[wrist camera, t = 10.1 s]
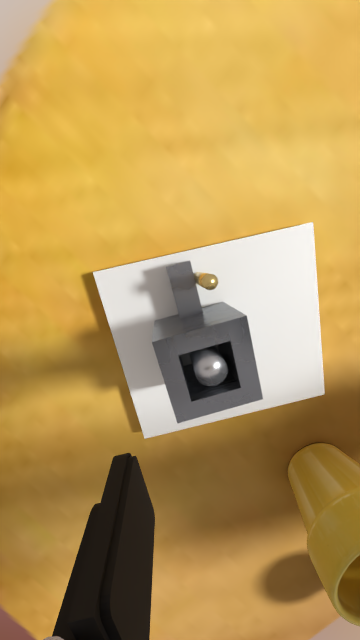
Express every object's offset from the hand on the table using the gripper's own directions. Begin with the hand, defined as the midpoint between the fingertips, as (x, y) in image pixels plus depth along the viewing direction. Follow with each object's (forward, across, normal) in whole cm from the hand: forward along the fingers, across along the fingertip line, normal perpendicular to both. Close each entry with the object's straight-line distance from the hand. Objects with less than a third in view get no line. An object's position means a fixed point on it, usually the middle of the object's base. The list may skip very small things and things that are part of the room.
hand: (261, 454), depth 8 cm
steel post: (+12, +1, 0) cm, 12 cm away
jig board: (+13, -1, 0) cm, 13 cm away
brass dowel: (+12, 0, -6) cm, 13 cm away
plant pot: (+14, -9, +18) cm, 24 cm away
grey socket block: (+12, +1, -2) cm, 12 cm away
